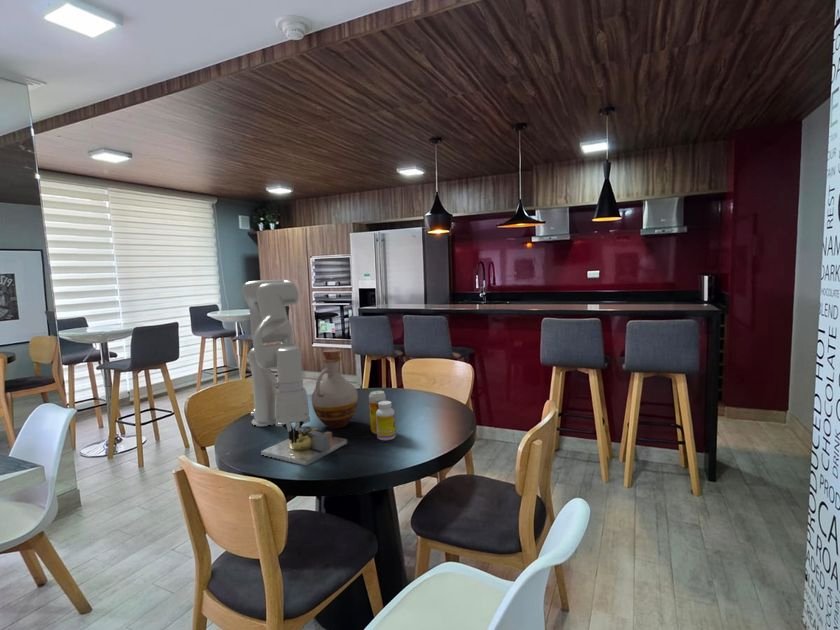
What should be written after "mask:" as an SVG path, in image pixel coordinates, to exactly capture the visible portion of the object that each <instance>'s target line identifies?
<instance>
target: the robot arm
mask: <svg viewBox="0 0 840 630" xmlns="http://www.w3.org/2000/svg"><path fill="white" fill-rule="evenodd" d="M242 293H243V294H242V295H243V298H244V300H245V301H244V302H245V303H246V305H247V307H248V309H249V310H248V311H249V319H250V320H249V321H250V335H251V340H252V345H253V347H252V348H251V349H250V350H249V351H248V354H247V356H248V357H247V358H248V365H249V367H250V372H251V379H252V392H253V403H254V408H253V410H252V411H251V412H250V416H253V419H252V420H251V425H252V424H253V426H254V425H256V426H255V427H269V426H268V425H271V426H274V424H275V427H282V428H284V429H285V430H286V431H288V439H289V440H291V442H292V443H297V439H299V433H298V430H299V428H300V427H303V425H304V424H305V425H306V424H307V423H310V422H311V418H310V409H309V408H310V407H309V399H308V394H307V389H306V388H305V387H304V383H303V379H304V378H303V364H302V350H301V347H300V346H299V345H298V344H297V343H296V342H294V336H293V335H294V334H293V333H294V332H293V327H292V323H291V321H290V320H289V319H288V314H287V310H286V306H294V305H297V304H298V302H299V300H300V299H299V298H300V296H299V295H300V293H299V289H298V286H297V285H296V284H295V283H294V282H293V281H290V280H288V279H272V280H271V279H269V280H267V279H265V280H264V279H263V280H251V281H247V282H245V283H244V284H243V285H242ZM264 344H265V345H264ZM274 368H275V369H276V374H277V376H276V375H275V374H274V373H273V372H272V371H271V370H270V369H274ZM293 423H295V425H294V426H292V424H293ZM293 429H294V431H293ZM293 432H294V433H293Z"/></svg>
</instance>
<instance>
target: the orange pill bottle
mask: <svg viewBox="0 0 840 630" xmlns="http://www.w3.org/2000/svg"><path fill="white" fill-rule="evenodd" d="M386 398H387V397H386V393H385V391H384V390H373V391H370V392H369V395H368V401H369V419H370V421H369V422H370V431H371V433H372V434H374V435H377V422H376V411H377V410H378V409H379V407H378V403H379V402H381V401H387V399H386Z"/></svg>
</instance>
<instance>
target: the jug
mask: <svg viewBox="0 0 840 630" xmlns="http://www.w3.org/2000/svg"><path fill="white" fill-rule="evenodd" d="M322 353H323V362H324V364H325V367H326V368H324V369H322V370H321V372H320V373H319V374H318V376H317V379H316V382H315V388H314V389H313V392H312V393H311V405H312V408H313V411H314V414H315V415H316V418H317V419H319V421H321V423H323V425H324V426H325V427H326V428H329V429H341V428H344V427H346V426H348V424H349V423H350V421H351V419H352V418H353V416H355V413H356V410H357V408H358V407H357V406H358V400H359V396H358V395H359V394H358V390H357V388H356V387H355V386H354V384H353V383H351V382H349V380H347V379H346V378H345V377H344V376H342V374H340V361H341V358H342V357H341V356H340V353H341V349H326V350H325V349H324V350H322ZM325 374H326V376H325V377H324V375H325ZM323 377H324V378H323Z"/></svg>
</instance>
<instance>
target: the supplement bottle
mask: <svg viewBox="0 0 840 630" xmlns="http://www.w3.org/2000/svg"><path fill="white" fill-rule="evenodd" d="M378 407H379V409H378V410H377V411H376V422H377V434H376V436H377V437H376V438H377V439H378V440H380V441H391V440H393V439H395V438H396V436H397V435H396V415H395V409H394V408H392V401H389V400H386V401H381V402H379V403H378Z"/></svg>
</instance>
